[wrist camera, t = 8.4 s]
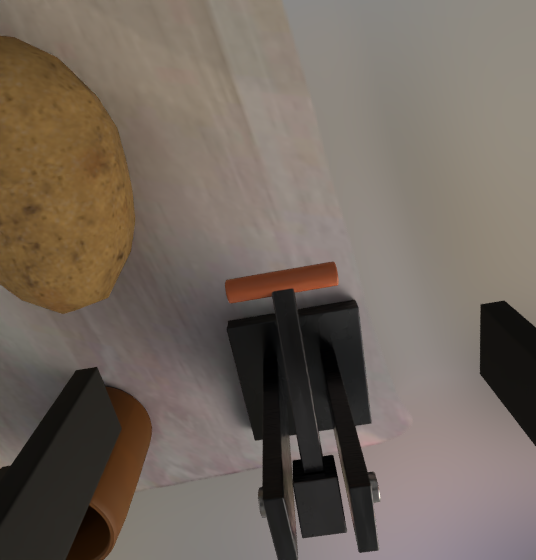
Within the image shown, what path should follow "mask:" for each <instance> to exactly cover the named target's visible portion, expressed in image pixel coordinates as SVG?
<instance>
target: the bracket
mask: <svg viewBox="0 0 536 560" xmlns="http://www.w3.org/2000/svg"><path fill="white" fill-rule="evenodd" d="M298 315H299V321H300V327H301V333H302V338H303V344H304V350H305V356H306V362H307V367H308V373H309V379H310V385H311V390H312V396H313V402H314V408H315V414H316V419H317V425H318V431H323V430H330V429H334V434H335V438H336V443H337V448H338V453H339V458H340V462H341V467H342V473H343V477H344V482H345V487H346V492H347V497H348V502H349V507H350V511H351V516H352V521H353V526H354V531H355V535H356V541H357V545H358V550H359V552H360V553H362V552H370V551H377V550H379V544H378V536H377V529H376V520H375V512H374V504H373V503H376V502H380V492H379V487H378V482H377V479H376V475H375V473H374V472H367V468H366V465H365V461H364V457H363V453H362V450H361V446H360V442H359V439H358V435H357V431H356V428H355V426H357V425H363V424H370V423H371V414H370V405H369V396H368V387H367V379H366V370H365V361H364V352H363V344H362V335H361V326H360V317H359V309H358V306H357V303H356V301H355V300H351V301H345V302H339V303H333V304H327V305H321V306H315V307H309V308H303V309H298ZM227 333H228V337H229V341H230V345H231V348H232V352H233V356H234V360H235V364H236V368H237V372H238V376H239V380H240V384H241V388H242V392H243V396H244V400H245V404H246V408H247V412H248V415H249V419H250V423H251V427H252V431H253V435H254V439H255V440H262V439H263V486H262V487H260V488H259V491H258V499H259V508H260V513H261V516H262V518H265V517H267V520H268V524H269V528H270V532H271V535H272V539H273V543H274V547H275V551H276V554H277V558H278V560H298V549H297V535H296V521H295V510H294V509H295V508H294V495H293V480H292V467H291V452H290V438H289V435H296V429H295V423H294V418H293V412H292V406H291V400H290V395H289V389H288V383H287V378H286V372H285V366H284V361H283V355H282V349H281V343H280V338H279V332H278V326H277V321H276V315H275V313H273V314H267V315H261V316H255V317H249V318H243V319H237V320H231V321H228V324H227Z"/></svg>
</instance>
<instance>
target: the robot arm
mask: <svg viewBox="0 0 536 560" xmlns="http://www.w3.org/2000/svg"><path fill="white" fill-rule="evenodd" d="M480 319H481V320H480V323H481V325H480V374H481V376H482V377H483V378H484V380H485V381H486V382H487V384H488V385H489V386H490V387H491V389H492V390H493V391H494V392H495V394H496V395H497V397H498V398H499V399H500V400H501V402H502V403H503V404H504V406H505V407H506V408H507V409H508V411H509V412H510V413H511V415H512V416H513V417H514V418H515V420H516V421H517V422H518V424H519V425H520V426H521V428H522V429H523V430H524V432H525V433H526V434H527V435H528V437H529V438H530V439H531V441H532V442H533V443H534V444H535V446H536V327H534V326H533V325H532V324H531V323H530V322H529V321H527V320H526V319H525V318H524V317H523V316H522V315H521V314H519V313H518V312H517V311H516V310H515V309H514V308H512V307H511V306H510V305H509V304H508V303H507V302H505V301H499V302H494V303H487V304H481V317H480ZM121 429H122V427H121V425H120V422H119V420H118V417H117V415H116V413H115V410H114V408H113V405H112V403H111V400H110V398H109V395H108V393H107V390H106V388H105V385H104V383H103V380H102V378H101V375H100V373H99V370H98V368H97V367H94V368H88V369H82V370H76V371H75V373H74V374H73V376H72V377H71V379H70V380H69V381H68V383H67V384H66V386H65V387H64V389H63V390H62V392H61V393H60V395H59V396H58V398H57V399H56V400H55V402H54V403H53V405H52V406H51V408H50V409H49V411H48V412H47V414H46V415H45V417H44V418H43V419H42V421H41V422H40V424H39V425H38V427H37V428H36V430H35V431H34V433H33V434H32V435H31V437H30V438H29V440H28V441H27V443H26V444H25V446H24V447H23V449H22V450H21V452H20V453H19V454H18V456H17V457H16V459H15V460H14V462H13V463H12V465H11V466H5V467H2V468H1V469H0V560H66V558H67V555H68V553H69V551H70V548H71V546H72V544H73V541H74V539H75V537H76V534H77V532H78V530H79V527H80V525H81V523H82V520H83V518H84V516H85V513H86V511H87V509H88V506H89V504H90V502H91V499H92V497H93V495H94V492H95V490H96V488H97V485H98V483H99V481H100V478H101V476H102V474H103V471H104V469H105V467H106V464H107V462H108V460H109V457H110V455H111V453H112V450H113V448H114V446H115V443H116V441H117V439H118V436H119V434H120V432H121Z"/></svg>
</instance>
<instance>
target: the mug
mask: <svg viewBox="0 0 536 560" xmlns="http://www.w3.org/2000/svg"><path fill="white" fill-rule="evenodd" d="M105 388H106V390H107V393H108V395H109V398H110V400H111V403H112V405H113V408H114V410H115V413H116V415H117V417H118V420H119V422H120V425H121V427H122V429H121V432H120V434H119V436H118V439H117V441H116V443H115V446H114V448H113V450H112V453H111V455H110V457H109V460H108V462H107V464H106V467H105V469H104V471H103V474H102V476H101V478H100V481H99V483H98V485H97V488H96V490H95V492H94V495H93V497H92V499H91V502H90V504H89V506H88V509H87V511H86V513H85V516H84V518H83V520H82V523H81V525H80V527H79V530H78V532H77V534H76V537H75V539H74V541H73V544H72V546H71V548H70V551H69V553H68V555H67V558H66V560H104V559H105V558H106V557H107V556H108V555H109V553H110V552H111V551H112V549H113V547H114V545H115V543H116V540H117V538H118V535H119V533H120V531H121V528H122V526H123V523H124V521H125V519H126V516H127V513H128V510H129V507H130V504H131V501H132V498H133V495H134V492H135V489H136V486H137V483H138V480H139V477H140V474H141V470H142V467H143V464H144V460H145V457H146V454H147V451H148V448H149V445H150V440H151V435H152V426H151V421H150V418H149V415H148V413H147V411H146V410H145V408H144V407H143V406H142V405H141V403H140V402H139V401H138V400H136V399H135V398H134V397H132V396H131V395H129V394H128V393H126V392H124V391H121V390H119V389H116V388H112V387H106V386H105Z"/></svg>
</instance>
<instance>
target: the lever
mask: <svg viewBox="0 0 536 560" xmlns="http://www.w3.org/2000/svg"><path fill="white" fill-rule="evenodd" d="M337 285H338V273H337V268H336V264H335V262H327V263H321V264H315V265H310V266H304V267H298V268H292V269H287V270H281V271H275V272H269V273H264V274H258V275H252V276H246V277H240V278H235V279H229V280H226V282H225V289H226V295H227V299H228V301H229V303H236V302H242V301H248V300H254V299H260V298H266V297H272V298H273V304H274V309H275V315H276V321H277V326H278V332H279V338H280V343H281V349H282V355H283V361H284V366H285V372H286V378H287V383H288V389H289V395H290V400H291V406H292V412H293V418H294V423H295V429H296V435H297V440H298V446H299V452H300V457H301V459H300V460H294V461H293V488H294V494H295V500H296V505H297V511H298V517H299V522H300V528H301V534H302V538H308V537H316V536H322V535H331V534H339V533H346V532H347V528H346V523H345V516H344V511H343V505H342V499H341V493H340V487H339V481H338V476H337V471H336V466H335V461H334V456H333V455H328V456H323V454H322V448H321V443H320V437H319V431H318V425H317V419H316V414H315V408H314V402H313V396H312V390H311V385H310V379H309V373H308V367H307V362H306V356H305V350H304V344H303V338H302V333H301V327H300V321H299V315H298V309H297V304H296V298H295V292H301V291H307V290H313V289H319V288H325V287H331V286H337Z"/></svg>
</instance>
